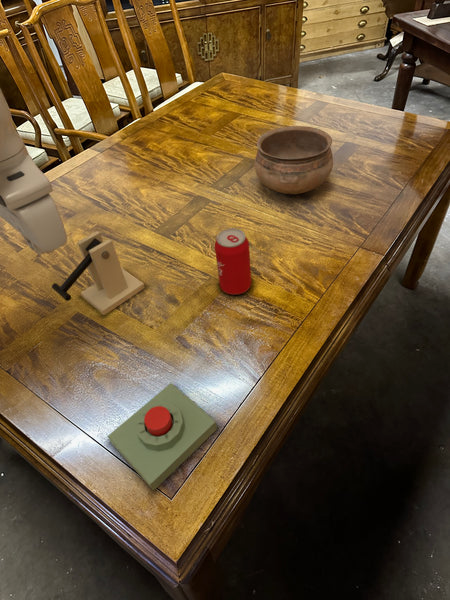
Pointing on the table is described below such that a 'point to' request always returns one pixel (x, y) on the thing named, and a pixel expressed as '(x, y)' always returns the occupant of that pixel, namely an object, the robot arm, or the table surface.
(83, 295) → the lever bracket
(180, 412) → the button housing
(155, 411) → the button
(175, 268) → the table surface
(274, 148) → the cooking pot
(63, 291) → the press lever
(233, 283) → the beverage can
